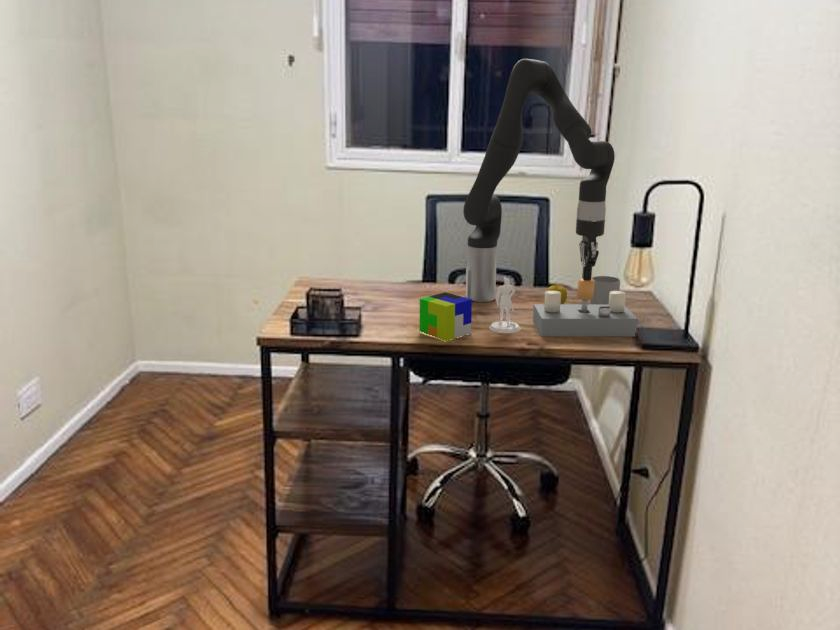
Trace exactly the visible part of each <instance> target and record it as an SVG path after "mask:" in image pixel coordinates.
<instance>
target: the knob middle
mask: <svg viewBox="0 0 840 630" xmlns="http://www.w3.org/2000/svg"><path fill="white" fill-rule="evenodd" d="M594 281H595V280H594V279H591V280H583V278H581V277H580V278H578V280H577V294H576V298H578V299H580V300H581V304H582V307H581V312H587V305H588V304H589V302H588V301H589V300H590V299H593V294H594Z"/></svg>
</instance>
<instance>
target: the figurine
mask: <svg viewBox="0 0 840 630" xmlns="http://www.w3.org/2000/svg"><path fill="white" fill-rule="evenodd" d="M502 280H503V282H504V283H503V285H500V286H499V285H498V287H497V289H496V292H495V301H496V306H497V307H499V309H500V311H499V321H494V322H492V323H491V324H490V325H489V327H488V328H489V330H490V331H491V332H494V333H499V334H514V333H517V332H520V331H521V327H520V325H519V324H518V323H516V322H515V321H513V320H512V318H511V315H510V310H512V312H515V310H514V306H513V302H512V296H514V295H515V293H516V287H515V285H512V284H511V282H510V281H511V280H510V279H509V278H507V277H506V276H504V277H503V278H502ZM504 311H505V313H506V314H505V319H506V320H503V319H504Z"/></svg>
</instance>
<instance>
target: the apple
mask: <svg viewBox="0 0 840 630" xmlns="http://www.w3.org/2000/svg"><path fill="white" fill-rule="evenodd" d="M546 291H558V292H561V304H566V300H567V298H568V293H567V292H568V291H567V289H566V288H565V287H564V286H563V285H559V284H558V285H557V284H556V283H554V285H551V286H549V287H548V288H547V290H546Z"/></svg>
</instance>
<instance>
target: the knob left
mask: <svg viewBox="0 0 840 630" xmlns="http://www.w3.org/2000/svg"><path fill="white" fill-rule="evenodd" d="M543 304H544V310H545V311H547V312H549V313H555V312H559V311H560V304H561V292H558V291H547V290H546V291H545V292H544V303H543Z"/></svg>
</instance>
